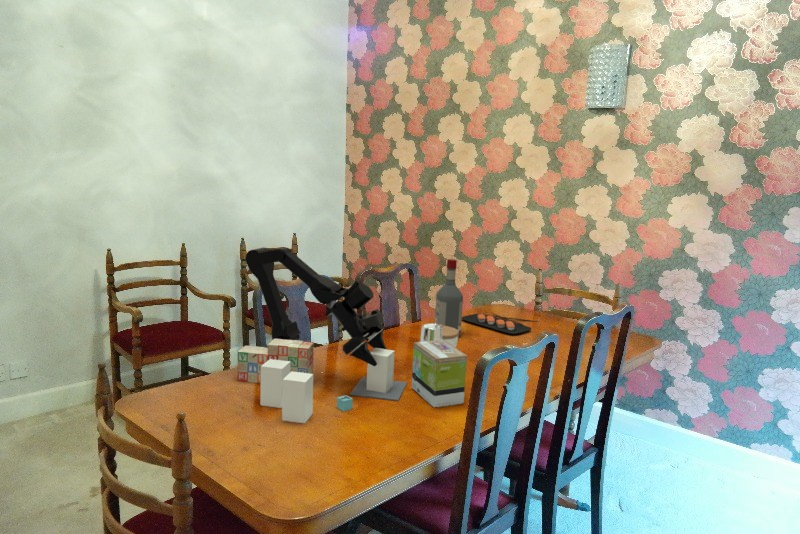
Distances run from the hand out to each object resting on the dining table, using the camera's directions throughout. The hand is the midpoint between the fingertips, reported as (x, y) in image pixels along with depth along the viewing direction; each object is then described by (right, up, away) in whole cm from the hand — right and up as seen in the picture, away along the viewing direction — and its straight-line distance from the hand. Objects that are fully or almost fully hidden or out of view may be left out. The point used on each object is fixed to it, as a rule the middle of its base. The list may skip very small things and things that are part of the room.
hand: (381, 360), depth 172 cm
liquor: (+24, 0, +59) cm, 64 cm away
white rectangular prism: (-1, -8, +2) cm, 8 cm away
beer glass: (+15, -7, +19) cm, 25 cm away
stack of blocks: (-32, -7, +4) cm, 33 cm away
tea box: (+16, -10, -1) cm, 19 cm away
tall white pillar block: (-21, -11, -20) cm, 31 cm away
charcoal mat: (-1, -9, +2) cm, 9 cm away
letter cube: (-10, -11, -13) cm, 19 cm away
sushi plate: (+51, +2, +82) cm, 97 cm away
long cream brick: (-29, -10, -11) cm, 32 cm away
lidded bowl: (+19, -4, +35) cm, 40 cm away
